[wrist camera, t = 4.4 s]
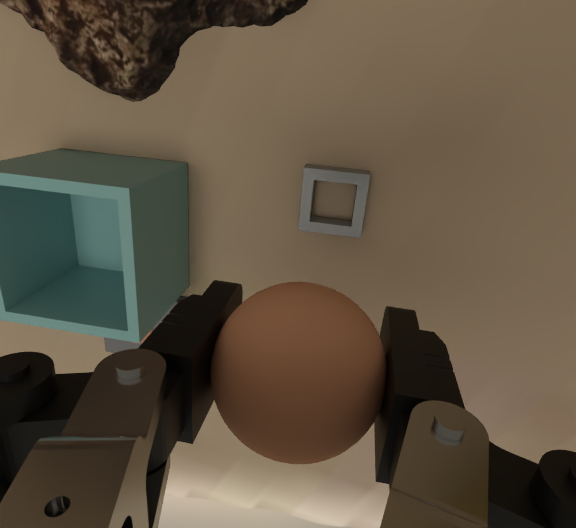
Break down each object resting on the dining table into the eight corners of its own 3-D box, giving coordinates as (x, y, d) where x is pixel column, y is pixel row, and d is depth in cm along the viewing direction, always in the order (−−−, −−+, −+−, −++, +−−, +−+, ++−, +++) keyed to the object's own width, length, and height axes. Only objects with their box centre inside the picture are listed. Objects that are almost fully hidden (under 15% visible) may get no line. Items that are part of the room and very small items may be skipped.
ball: (396, 268, 11) (412, 363, 7) (371, 395, 12) (373, 527, 9) (241, 246, 11) (179, 325, 7) (236, 371, 13) (183, 485, 9)
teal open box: (187, 162, 25) (129, 188, 19) (189, 285, 29) (139, 343, 22) (60, 148, 26) (-36, 168, 20) (76, 269, 29) (-3, 319, 23)
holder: (370, 170, 24) (370, 175, 23) (360, 231, 25) (360, 238, 24) (306, 163, 24) (303, 167, 23) (300, 224, 26) (298, 230, 25)
